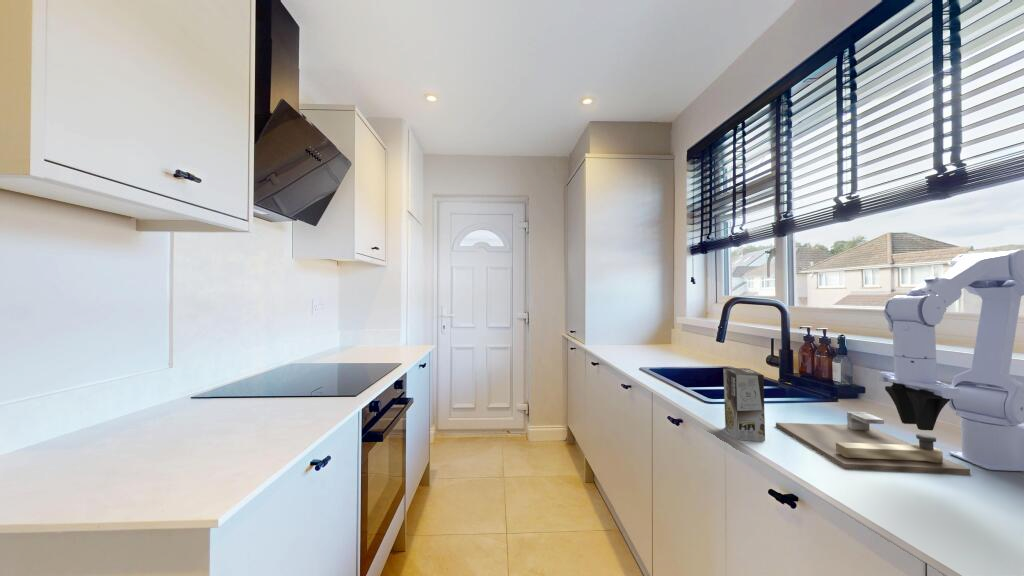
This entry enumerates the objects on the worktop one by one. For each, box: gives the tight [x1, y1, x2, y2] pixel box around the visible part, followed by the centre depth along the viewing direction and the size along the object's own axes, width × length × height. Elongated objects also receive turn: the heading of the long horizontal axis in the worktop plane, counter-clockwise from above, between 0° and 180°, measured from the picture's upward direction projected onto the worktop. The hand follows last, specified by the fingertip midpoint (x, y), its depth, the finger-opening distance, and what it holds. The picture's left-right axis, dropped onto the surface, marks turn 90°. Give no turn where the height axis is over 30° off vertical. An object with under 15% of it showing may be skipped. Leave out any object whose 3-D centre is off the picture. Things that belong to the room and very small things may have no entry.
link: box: [836, 433, 944, 463], centre depth 79 cm, size 18×4×4 cm, turn 82°
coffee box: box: [723, 367, 766, 442], centre depth 96 cm, size 9×6×16 cm
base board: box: [775, 411, 971, 475], centre depth 87 cm, size 22×25×5 cm
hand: (917, 426), depth 73 cm, fingers open, 3 cm apart
